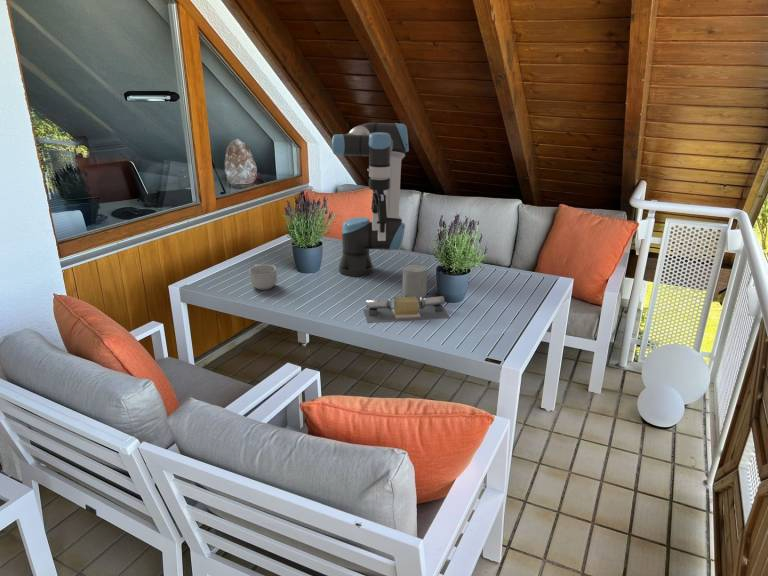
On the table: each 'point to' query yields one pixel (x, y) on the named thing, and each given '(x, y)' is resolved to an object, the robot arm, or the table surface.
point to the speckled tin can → (414, 280)
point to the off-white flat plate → (405, 315)
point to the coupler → (406, 306)
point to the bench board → (389, 316)
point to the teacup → (263, 276)
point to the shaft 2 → (432, 303)
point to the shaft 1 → (377, 306)
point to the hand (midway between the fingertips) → (378, 235)
